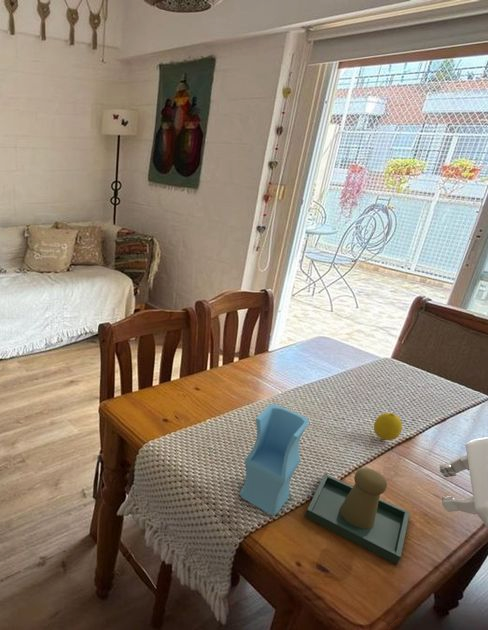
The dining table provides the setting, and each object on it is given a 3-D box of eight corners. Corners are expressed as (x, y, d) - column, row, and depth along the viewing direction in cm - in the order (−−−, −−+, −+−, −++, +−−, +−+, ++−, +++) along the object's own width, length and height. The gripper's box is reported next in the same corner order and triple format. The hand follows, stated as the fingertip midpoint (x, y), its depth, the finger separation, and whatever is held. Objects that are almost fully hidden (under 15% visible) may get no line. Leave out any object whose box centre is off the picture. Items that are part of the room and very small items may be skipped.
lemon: (365, 435, 113) (374, 409, 110) (380, 430, 115) (389, 405, 112) (385, 449, 108) (396, 422, 105) (401, 444, 110) (411, 418, 107)
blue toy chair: (237, 495, 93) (255, 418, 85) (253, 476, 98) (271, 402, 91) (274, 517, 88) (297, 437, 80) (289, 496, 93) (312, 419, 85)
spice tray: (406, 519, 89) (410, 512, 88) (397, 565, 79) (400, 557, 78) (322, 480, 98) (324, 473, 97) (304, 516, 89) (307, 509, 88)
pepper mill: (332, 508, 90) (347, 466, 86) (354, 501, 92) (370, 460, 88) (358, 532, 85) (376, 489, 80) (381, 524, 87) (399, 482, 82)
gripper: (523, 419, 75) (430, 439, 84) (549, 494, 60) (433, 509, 69) (546, 450, 75) (450, 467, 84) (578, 534, 59) (457, 544, 69)
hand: (442, 487), depth 76 cm, fingers open, 8 cm apart
